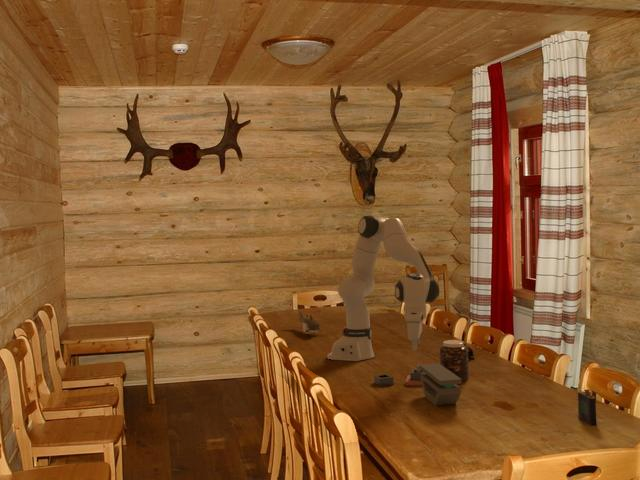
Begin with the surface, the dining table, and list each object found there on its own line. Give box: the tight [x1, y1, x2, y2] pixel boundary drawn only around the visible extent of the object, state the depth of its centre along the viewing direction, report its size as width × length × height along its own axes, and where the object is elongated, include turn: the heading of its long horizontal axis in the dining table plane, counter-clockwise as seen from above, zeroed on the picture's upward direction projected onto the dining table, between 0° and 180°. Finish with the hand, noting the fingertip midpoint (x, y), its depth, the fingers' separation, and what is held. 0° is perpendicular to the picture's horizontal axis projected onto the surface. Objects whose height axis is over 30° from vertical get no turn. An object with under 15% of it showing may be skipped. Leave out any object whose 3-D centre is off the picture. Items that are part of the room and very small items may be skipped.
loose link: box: [373, 373, 394, 387], centre depth 291 cm, size 6×6×3 cm
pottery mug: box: [463, 342, 476, 360], centre depth 329 cm, size 12×10×8 cm
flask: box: [577, 388, 598, 427], centre depth 234 cm, size 9×3×11 cm, turn 8°
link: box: [409, 368, 425, 381], centre depth 291 cm, size 6×6×3 cm
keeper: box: [404, 364, 423, 387], centre depth 291 cm, size 10×10×7 cm
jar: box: [439, 339, 470, 382], centre depth 295 cm, size 12×12×15 cm
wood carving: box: [297, 309, 322, 333], centre depth 406 cm, size 9×35×11 cm, turn 18°
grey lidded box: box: [418, 362, 463, 407], centre depth 264 cm, size 25×8×11 cm, turn 9°
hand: (415, 347), depth 290 cm, fingers open, 8 cm apart
